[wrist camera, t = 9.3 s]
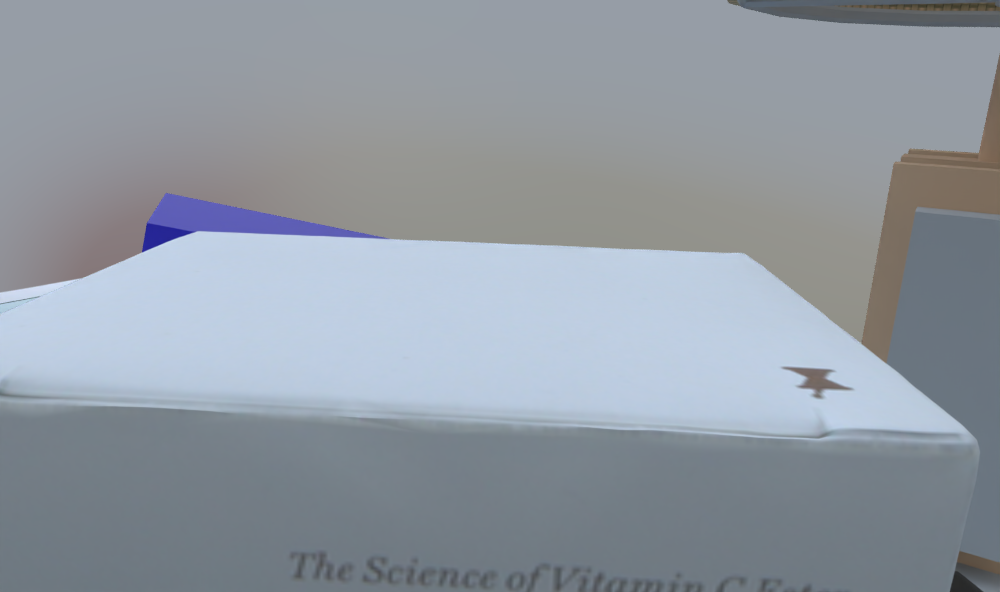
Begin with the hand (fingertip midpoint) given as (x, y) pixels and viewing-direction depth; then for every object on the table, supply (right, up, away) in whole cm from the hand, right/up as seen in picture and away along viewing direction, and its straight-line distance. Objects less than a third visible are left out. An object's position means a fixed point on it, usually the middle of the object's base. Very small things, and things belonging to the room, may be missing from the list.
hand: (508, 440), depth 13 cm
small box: (-1, -8, -3) cm, 8 cm away
